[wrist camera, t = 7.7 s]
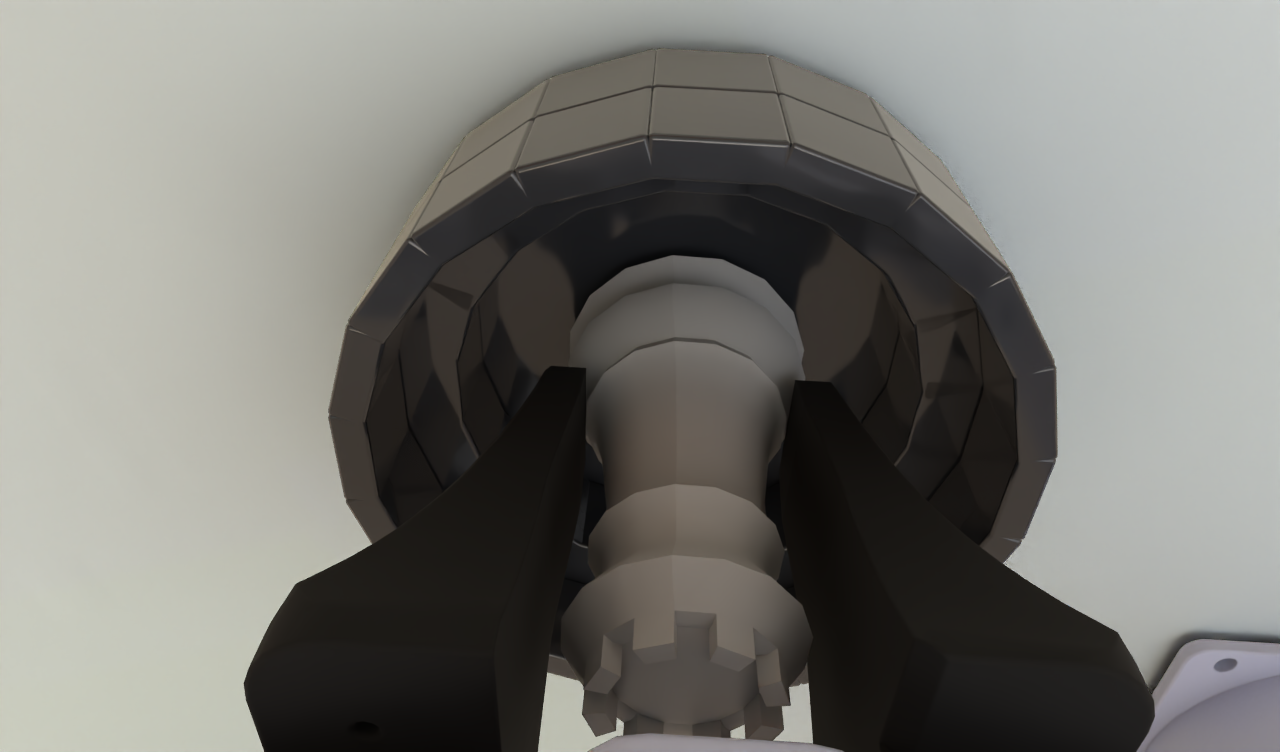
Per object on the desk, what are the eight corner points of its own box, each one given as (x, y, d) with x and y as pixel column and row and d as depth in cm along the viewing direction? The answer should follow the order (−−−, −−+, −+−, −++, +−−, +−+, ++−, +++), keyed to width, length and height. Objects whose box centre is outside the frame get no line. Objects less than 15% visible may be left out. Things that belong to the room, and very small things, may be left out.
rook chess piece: (551, 254, 16) (460, 595, 10) (798, 230, 16) (878, 570, 9) (589, 443, 19) (538, 814, 12) (803, 427, 18) (870, 804, 12)
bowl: (1055, 58, 14) (1181, 164, 11) (906, 544, 21) (953, 714, 17) (369, 20, 15) (263, 112, 11) (433, 516, 21) (380, 678, 17)
